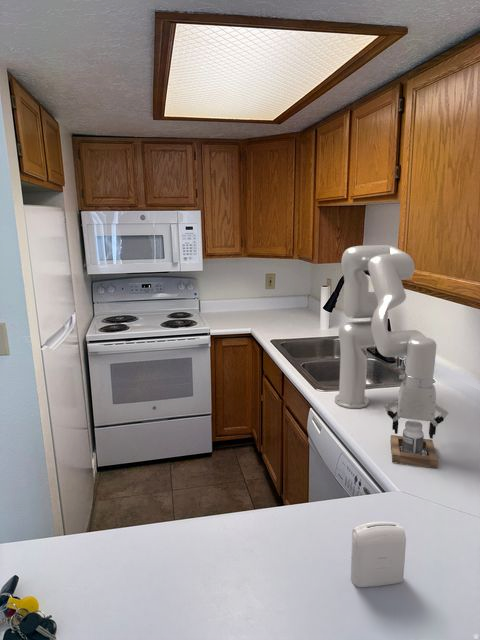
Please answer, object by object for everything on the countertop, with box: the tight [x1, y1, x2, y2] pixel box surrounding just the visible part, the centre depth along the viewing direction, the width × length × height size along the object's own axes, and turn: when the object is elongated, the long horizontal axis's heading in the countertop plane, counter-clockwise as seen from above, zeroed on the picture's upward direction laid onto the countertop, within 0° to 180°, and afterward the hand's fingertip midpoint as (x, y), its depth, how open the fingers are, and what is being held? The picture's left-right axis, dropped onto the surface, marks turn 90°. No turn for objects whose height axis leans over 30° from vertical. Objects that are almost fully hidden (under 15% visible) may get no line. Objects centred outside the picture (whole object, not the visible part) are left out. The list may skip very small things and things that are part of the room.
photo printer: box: [350, 521, 407, 588], centre depth 83 cm, size 10×4×12 cm, turn 96°
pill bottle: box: [401, 419, 425, 455], centre depth 127 cm, size 6×6×10 cm
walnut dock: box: [389, 434, 439, 469], centre depth 127 cm, size 12×12×2 cm
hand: (413, 434), depth 127 cm, fingers open, 9 cm apart
